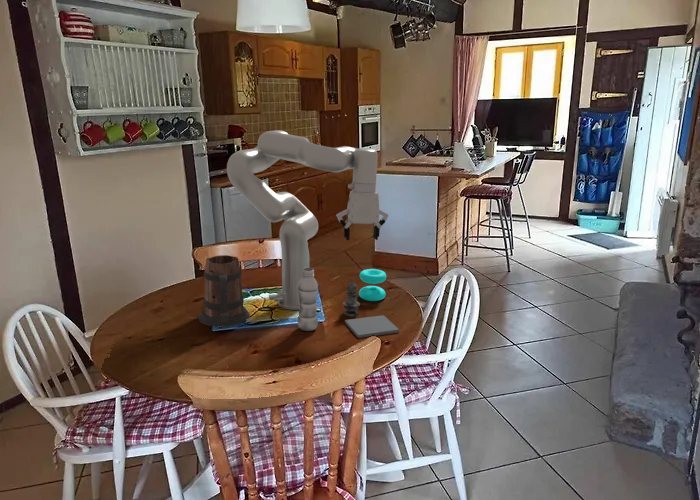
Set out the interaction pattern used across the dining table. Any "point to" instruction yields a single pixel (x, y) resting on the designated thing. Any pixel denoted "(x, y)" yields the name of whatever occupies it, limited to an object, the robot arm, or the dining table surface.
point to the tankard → (223, 292)
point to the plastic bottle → (307, 300)
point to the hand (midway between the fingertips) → (361, 239)
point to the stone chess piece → (351, 301)
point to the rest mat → (371, 326)
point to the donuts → (372, 291)
